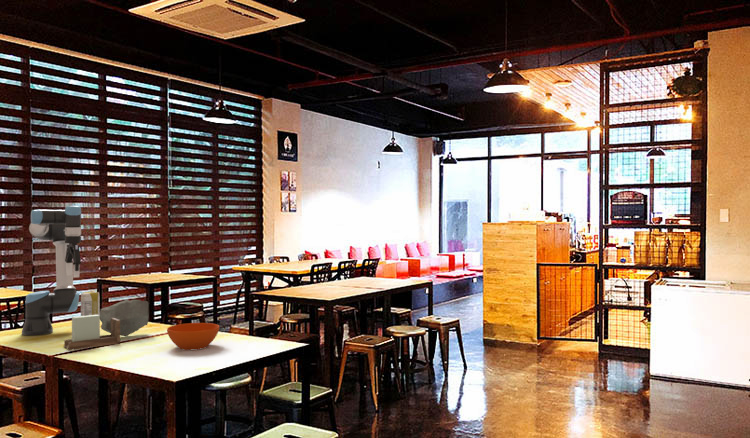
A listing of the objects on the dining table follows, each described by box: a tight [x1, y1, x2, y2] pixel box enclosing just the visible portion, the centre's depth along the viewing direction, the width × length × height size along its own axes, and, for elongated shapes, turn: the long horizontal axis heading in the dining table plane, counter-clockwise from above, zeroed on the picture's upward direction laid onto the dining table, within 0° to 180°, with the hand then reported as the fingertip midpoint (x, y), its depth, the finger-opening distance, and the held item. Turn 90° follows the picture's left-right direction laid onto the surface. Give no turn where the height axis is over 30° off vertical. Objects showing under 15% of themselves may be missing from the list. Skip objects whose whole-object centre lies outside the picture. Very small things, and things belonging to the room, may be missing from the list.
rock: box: [100, 299, 150, 337], centre depth 319 cm, size 27×6×20 cm, turn 137°
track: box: [63, 318, 121, 351], centre depth 297 cm, size 10×24×12 cm, turn 131°
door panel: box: [71, 315, 101, 342], centre depth 295 cm, size 4×12×14 cm, turn 131°
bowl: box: [166, 322, 220, 351], centre depth 293 cm, size 25×25×10 cm
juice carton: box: [80, 289, 101, 316], centre depth 330 cm, size 9×8×24 cm
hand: (72, 276), depth 303 cm, fingers open, 13 cm apart
